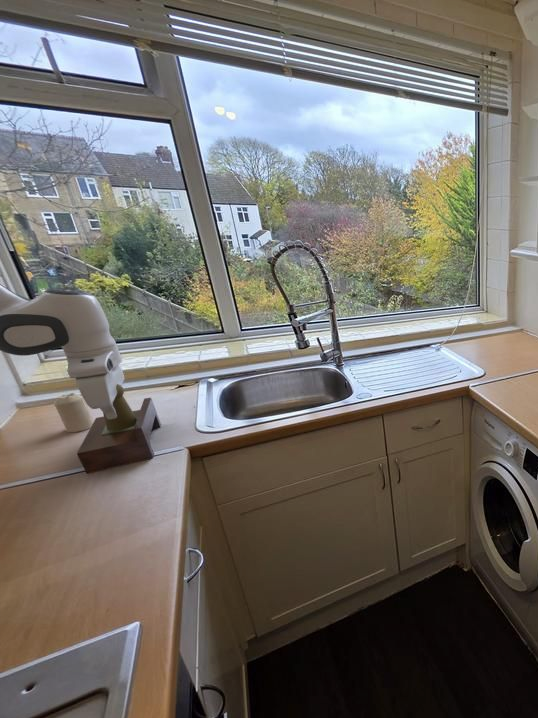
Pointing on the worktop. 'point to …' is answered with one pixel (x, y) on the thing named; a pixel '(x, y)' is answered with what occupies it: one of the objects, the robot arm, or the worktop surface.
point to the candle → (73, 412)
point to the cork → (120, 413)
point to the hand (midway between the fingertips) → (116, 410)
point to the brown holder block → (119, 441)
